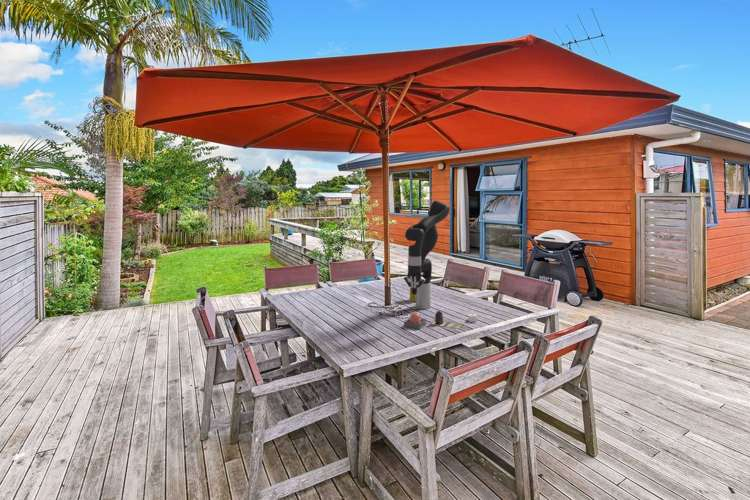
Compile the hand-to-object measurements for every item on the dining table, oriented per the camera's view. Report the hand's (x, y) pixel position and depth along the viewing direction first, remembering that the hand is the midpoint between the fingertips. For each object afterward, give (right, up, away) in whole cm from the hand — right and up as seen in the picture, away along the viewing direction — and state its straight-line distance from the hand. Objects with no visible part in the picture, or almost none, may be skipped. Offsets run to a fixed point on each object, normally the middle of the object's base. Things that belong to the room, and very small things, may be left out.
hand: (414, 294), depth 209 cm
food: (+8, -12, +61) cm, 63 cm away
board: (+19, -19, +3) cm, 27 cm away
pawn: (+15, -17, +5) cm, 24 cm away
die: (+35, -18, +10) cm, 41 cm away
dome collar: (+1, -19, +2) cm, 19 cm away
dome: (+1, -17, +2) cm, 17 cm away
